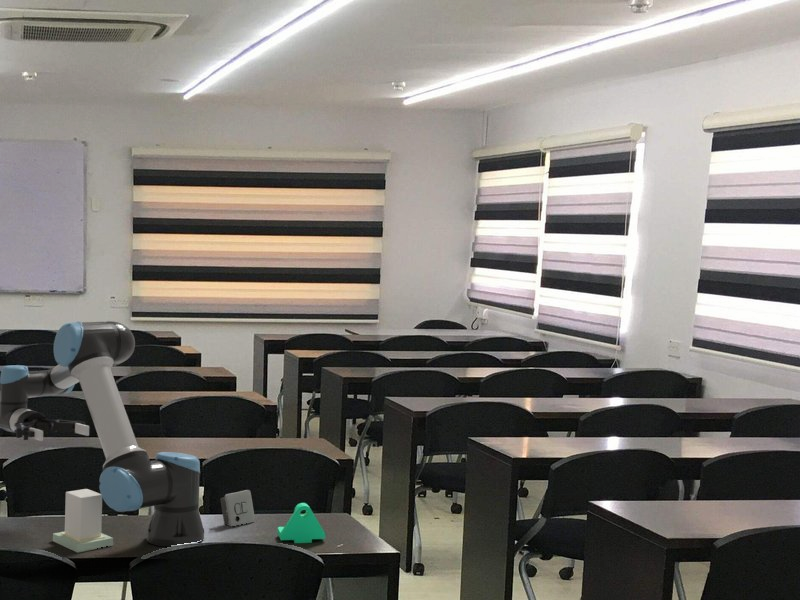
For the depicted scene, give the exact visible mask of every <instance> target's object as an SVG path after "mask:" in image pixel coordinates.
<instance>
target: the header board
mask: <svg viewBox="0 0 800 600" xmlns="http://www.w3.org/2000/svg"><path fill="white" fill-rule="evenodd" d="M52 542H54V543H56V544H58V545H59V546H63V547H65V548H67V549H69V550H70V551H73V552H75V553H83V552H88V551H92V550H97V548H98V549H102V548H101V547H103V548H107V547H106V546H108V547H111V546H114V537H111V536H109V535H107V534H105V533H103V532H101V536H100V537H95V538H90V539H85V540H78V539H76V538H74V537H71V536H69V535H67V534H65V530H64V531H60V532H54V533H52Z"/></svg>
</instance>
